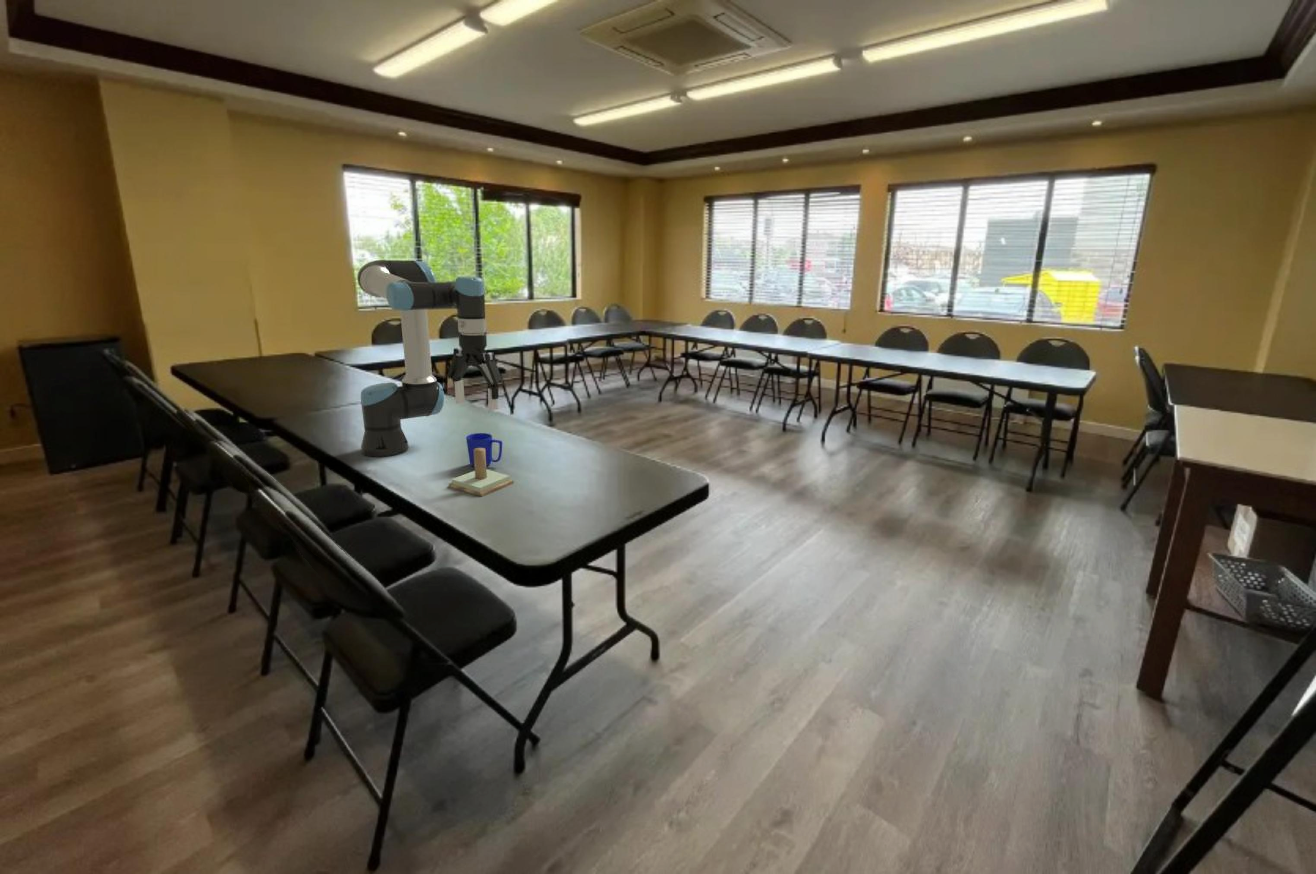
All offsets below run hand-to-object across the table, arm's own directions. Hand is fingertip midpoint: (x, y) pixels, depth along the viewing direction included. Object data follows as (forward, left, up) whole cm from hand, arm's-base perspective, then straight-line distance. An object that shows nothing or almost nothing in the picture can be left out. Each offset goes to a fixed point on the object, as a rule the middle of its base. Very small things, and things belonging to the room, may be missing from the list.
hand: (476, 406), depth 169 cm
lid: (0, 0, -24) cm, 24 cm away
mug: (-11, +13, -25) cm, 30 cm away
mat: (0, 0, -25) cm, 25 cm away
